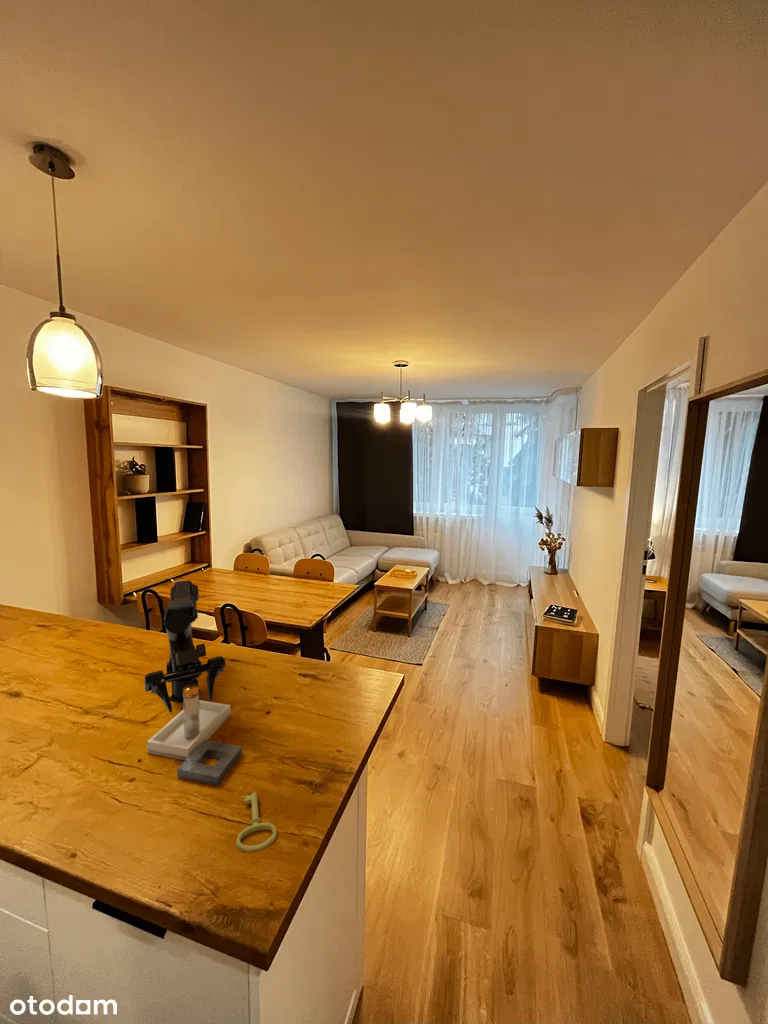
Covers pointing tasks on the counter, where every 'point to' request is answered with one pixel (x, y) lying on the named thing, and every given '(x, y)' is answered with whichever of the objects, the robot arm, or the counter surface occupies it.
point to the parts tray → (172, 733)
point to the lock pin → (191, 711)
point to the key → (255, 827)
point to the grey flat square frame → (207, 773)
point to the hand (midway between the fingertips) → (191, 706)
